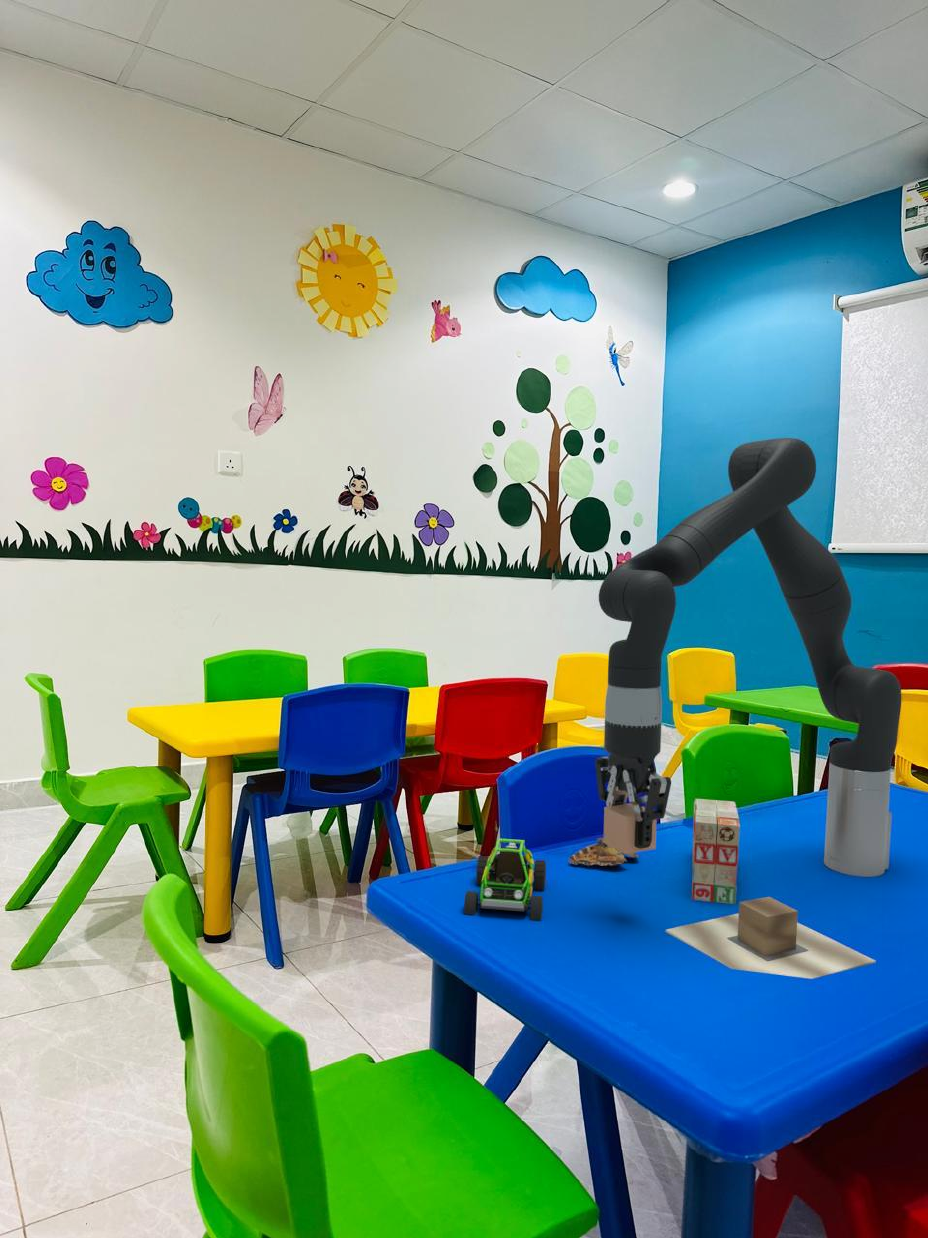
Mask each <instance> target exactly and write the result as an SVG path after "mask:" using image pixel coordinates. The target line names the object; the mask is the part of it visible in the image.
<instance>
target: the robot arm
mask: <svg viewBox="0 0 928 1238" xmlns="http://www.w3.org/2000/svg"><path fill="white" fill-rule="evenodd" d="M727 465H728V467H727V472H728V473H727V474H728V479H729V483H730V487H731V489H732V492H731V493H729V494H726V495H725V496H723V497H721V498H718V499H717V500H715V501H713V502H712V503H709V504H708V505H706V506H704V507H702V508H700V509H697V510H696V511H695V512H693V513H691V514H690V515H688V516H686V517H685V518H683V520H681V521H680V522H679V523H678V524H677V525H675V526H674V527H673V528H672V529H671V530H669V531H668V533H666V534H665V535H664V536H663V537H662V538H661V539H660V540H659V541H658V542H656V544H655V545H652V546H651V547H648V548H647V549H645V550H643V551H640V552H639V553H638V554H637V553H636V555H634V556H632V557H631V558H629V559H627V560H626V561H623V562H622V563H620V564H619V565H617V566H616V567H614V569H612V570H611V571H610V572H609V573H608V574H607V576H606V577H605V578H604V579H603V581H602V583H601V585H600V588H599V590H598V602H599V606H600V609H601V610H602V612H603V614H604V615H606V616H607V617H609V618H610V619H612V620H616V621H621V622H627V623H630V628H629V632H628V634H627V637H626V639H621V640H618V641H615V642H613V643H612V644H611V645H610V647H609V651H608V659H607V660H608V663H607V688H606V695H605V702H604V706H605V707H604V736H603V737H604V739H603V749H604V750H605V752H606V753H607V754H609V756H600V757H596V758H595V761H594V765H595V772H596V773H595V774H596V783H597V791H598V798H599V800H600V801H603V802H606V803H605V804H606V807H609V806H616V805H622V804H627V799H628V800H629V803H631V804H632V805H633V807H634V812H635V817H636V820H637V821H635V847H637V848H639V849H642V848H647V847H649V846H650V844H651V842H652V823H653V820H656V819H657V820H660V819H661V820H662V819H664V818H665V815H666V810H667V807H668V806H667V805H668V800H669V796H670V791H671V787H672V786H671V785H672V779H671V777H669V776H665V777H662V776H661V775H659V774H658V773H657V767H656V764H655V763H656V762H655V758H656V757H657V756H658V755H659V754H660V753H661V749H662V748H661V747H662V745H661V744H662V717H663V715H662V712H663V699H662V689H661V688H662V687H661V686H662V685H661V684H662V656H663V653H664V650H665V647H666V643H667V640H668V636H669V632H670V629H671V627H672V624H673V620H674V616H675V613H676V606H677V597H676V591H675V588H677V587H681V586H686V585H687V584H689V583H690V582H692V581H694V579H696V577H697V576H699V575H700V574H701V573H702V572H703V571H704V570H706V568H707V567H709V565H711V564H712V563H713V561H715V560H716V559H717V558H718V557H719V556H720V555H721V554H723V552H724V551H726V550H727V549H728V548H729V547H730V546H731V545H733V544H734V543H736V542H737V541H738V540H740V538H743V536H745V535H746V534H747V533H748V532H750V531H751V530H754V532H755V534H756V536H757V538H758V539H759V542H760V544H761V546H762V547H763V551H764V553H765V554H766V556H767V559H768V561H769V563H770V566H771V567H772V570H773V572H774V574H775V577H776V580H777V583H778V585H779V588H780V590H781V593H782V595H783V597H784V600H785V602H786V605H787V607H788V610H789V612H790V613H791V616H792V617H793V620H794V622H795V624H796V627H797V629H798V632H799V634H800V637H801V639H802V641H803V643H802V644H803V645H804V647H805V649H806V650H805V651H806V652H807V655H808V657H809V662H810V664H811V665H810V666H811V668H812V671H813V675H814V679H815V682H816V686H817V689H818V693H819V696H820V698H821V699H820V700H821V701H822V704H823V706H824V707H825V709H826V711H827V712H828V714H829V715H831V716H832V717H833V718H835V719H838V720H840V721H844V722H849V723H854V724H857V732H856V736H855V738H853V739H852V740H849V741H841V742H840V741H839V742H837V743H835V744H833V745H832V746H831V747H830V751H829V764H828V765H829V766H828V768H829V769H828V784H827V785H828V786H827V787H828V788H827V804H826V805H827V807H826V819H825V820H826V822H825V839H824V854H823V856H824V857H823V864H824V866H825V867H827V868H829V869H830V870H833V871H834V872H837V873H841V874H844V875H847V876H848V875H849V876H853V877H854V876H855V877H863V878H865V877H866V878H867V877H869V878H870V877H879V876H882V875H883V874H884V873H885V870H889V863H890V846H891V830H892V829H891V828H892V816H893V815H892V812H891V811H889V809H890V808H889V805H890V790H891V787H890V786H891V776H892V775H891V773H892V761H893V757H894V754H895V752H896V748H897V744H898V736H899V735H898V734H899V727H900V726H899V725H900V719H901V709H902V689H901V684H900V682H899V679H898V678H897V676H896V675H895V674H894V673H892V672H890V671H887V670H882V669H877V668H870V667H862V666H856V665H855V664H853V662H852V661H851V659H850V657H849V654H848V652H847V650H846V647H845V644H844V639H843V638H844V636H843V635H844V632H845V628H846V625H847V622H848V620H849V617H850V613H851V611H852V610H851V609H852V595H851V591H850V588H849V586H848V583H847V581H846V577H845V576H844V573H843V570H842V569H841V566H840V564H839V562H838V560H837V559H836V557H835V556H834V554H832V553H831V551H830V550H829V549H828V548H827V547H826V546H825V545H824V544H822V541H819V540H818V539H817V538H816V537H815V536H814V535H813V534H812V533H811V532H809V531H808V530H807V529H806V528H805V527H804V526H803V524H801V523H800V522H799V521H798V520H797V519H796V517H795V516H794V515H793V513H792V511H791V509H790V508H789V506H790V505H791V504H794V502H795V501H797V500H799V499H800V498H801V497H803V496H804V495H805V494H806V493H807V492H808V491H809V490H810V489H811V486H812V485H813V483H814V481H815V478H816V473H817V461H816V457H815V453H814V451H813V450H812V447H810V446H809V444H808V443H807V442H805V441H804V440H801V439H800V438H795V437H780V438H771V439H764V440H763V439H762V440H756V441H749V442H746V443H743V444H739V445H738V446H737V447H736V448H735V449H734V450H733V451H732V452H731V455H730V456H729V460H728V464H727ZM606 783H608V785H607V787H606ZM606 788H607V789H606ZM642 794H645V795H644V796H639V795H642ZM643 803H644V805H645V806H644V807H645V811H644V812H643V810H642V806H643V805H642V804H643ZM655 807H656V809H655Z"/></svg>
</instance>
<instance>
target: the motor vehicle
mask: <svg viewBox="0 0 928 1238" xmlns="http://www.w3.org/2000/svg"><path fill="white" fill-rule="evenodd" d="M494 824H495V827H494V830H495V837H494V838H495V840H496V842H495V843H494V848H493V849H492V850H491V853H490V854H489V856H487V855H485V856H484V855H480V856H479V857H478V859H477V864H476V878H475V880H476V886H480V895H479V892H478V891H476V890H467V891H466V892H465V895H464V902H463V903H464V905H463V913H464V914H463V915H469V916H475V915H476V914H477V911H478V908H479V907H480V908H481V909H487V910H498V911H499V910H500V911H501V910H503V911H511V912H512V911H514V912H526V911H527V910H528V911H529V920H531V921H542V915H543V912H544V911H543V907H544V906H543V905H544V900H543V899H544V897H543V896H542V895H535V894H534V895H533V893H532V892H533V889H534V890H536V891H545V888H546V881H547V880H546V877H547V861H546V859H545V860H544V859H536V860H535V861H534V858H533V854H532V852H531V851H530V850H529V849H527V848H526V845H525V842H526V841H525V839H511V838H510V839H509V838H497V832H498V825H497V822H495V823H494ZM501 843H508V845H506V846H500V845H501ZM516 844H517V845H518V844H519V847H518V846H517V845H516ZM500 847H501V848H500ZM498 852H499V853H498ZM523 854H524V855H523Z"/></svg>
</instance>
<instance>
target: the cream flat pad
mask: <svg viewBox="0 0 928 1238" xmlns="http://www.w3.org/2000/svg"><path fill="white" fill-rule="evenodd" d="M738 919H739V912H738V913H734V914H729V915H726V916H725V915H724V916H720V917H717V918H712V919H708V920H703V921H698V922H694V923H690V924H684V925H680V926H676V927H673V928H668V929H665V933H667V934H669V935H670V936H672V937H674V938H676V939H677V940H680V941H681V942H683V943H685V944H686V945H689V946H690V947H692V948H694V949H695V950H697V951H699V952H701V953H702V954H704V955H706V956H708V957H710V958H711V959H714V960H715V961H717V962H718V963H721V964H723V965H724V966H725V967H728V968H729V969H731V970H740V971H746V972H747V971H748V972H756V973H763V974H771V975H780V976H787V977H794V978H804V979H809V980H810V979H811V980H812V979H817V978H820V977H824V976H825V977H826V976H827V975H828V976H829V975H833V974H836V973H840V972H844V971H847V970H851V969H852V970H853V969H856V968H859V967H863V966H868V965H872V964H876V959H873V958H871V957H869V956H867V955H864V954H863V953H862V952H861V953H860V951H857V950H855V949H852V947H848V946H846V945H844V944H842V943H840V942H838V941H836V940H835V939H832V938H831V937H828V936H826V935H824V934H822V933H820V932H817V931H816V930H814V929H811V928H810V927H808V926H806V925H803V924H801V923H799V922H797V936H796V949H795V950H791V951H786V952H782V953H777V954H773V955H768V956H764V955H762V954H761V953H759V952H757V951H756V950H754V949H752V948H751V947H749V946H747V945H746V944H744V943H742V942H740V941H739V940H738Z"/></svg>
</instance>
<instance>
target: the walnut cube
mask: <svg viewBox="0 0 928 1238" xmlns="http://www.w3.org/2000/svg"><path fill="white" fill-rule="evenodd" d="M738 904H739V905H738V913H739V919H738V940H739V941H740V942H742V943H744V944H746V945H747V946H749V947H751V948H752V949H754V950H756V951H757V952H759V953H761V954H762V955H764V956H768V955H773V954H777V953H782V952H786V951H791V950H795V949H796V936H797V923H798V916H799V913H798V912H799V911H798V910H796V909H795V908H792V907H790V906H788V905H787V904H785V903H782V902H781V901H779V900H777V899H774V898H773V897H771V896H767V897H761V898H760V897H759V898H754V899H750V900H749V899H748V900H744V901H739V902H738Z"/></svg>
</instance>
